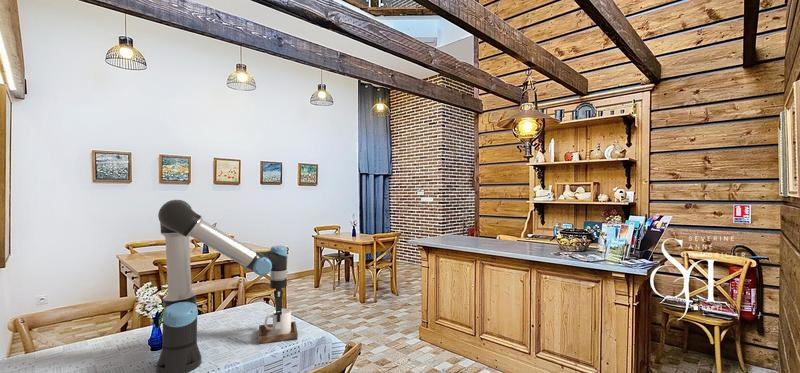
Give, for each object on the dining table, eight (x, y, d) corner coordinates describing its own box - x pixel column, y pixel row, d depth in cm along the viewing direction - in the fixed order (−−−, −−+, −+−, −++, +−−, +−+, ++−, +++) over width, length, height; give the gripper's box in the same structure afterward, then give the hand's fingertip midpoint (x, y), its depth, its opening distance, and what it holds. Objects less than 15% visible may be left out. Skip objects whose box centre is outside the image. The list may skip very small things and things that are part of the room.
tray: (258, 344, 164) (258, 337, 164) (259, 331, 179) (259, 325, 179) (297, 339, 170) (297, 333, 170) (295, 327, 185) (295, 321, 185)
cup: (290, 335, 172) (290, 313, 173) (263, 337, 169) (263, 315, 169) (290, 328, 180) (291, 308, 181) (265, 330, 177) (265, 309, 177)
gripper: (288, 284, 165) (287, 332, 164) (285, 272, 188) (285, 314, 188) (270, 285, 162) (269, 334, 162) (270, 273, 186) (269, 315, 185)
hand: (277, 323), depth 175 cm, fingers open, 13 cm apart
